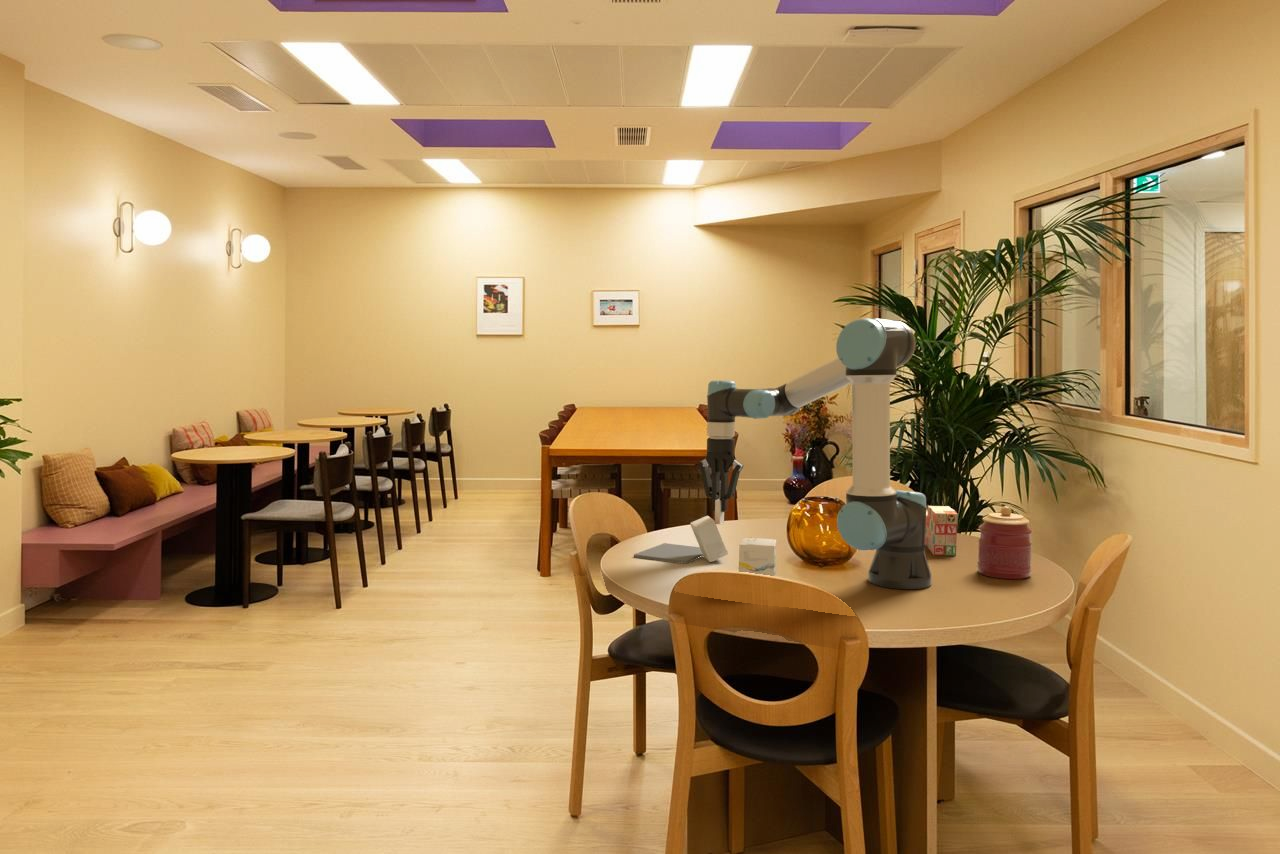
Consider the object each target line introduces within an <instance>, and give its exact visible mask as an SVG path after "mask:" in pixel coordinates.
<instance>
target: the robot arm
mask: <svg viewBox="0 0 1280 854" xmlns="http://www.w3.org/2000/svg"><path fill="white" fill-rule="evenodd" d="M835 347H836V355H837V357H836V358H834V359H832V360H830V361H829V362H826V363H824V364H822V365H820V366H818V367H816V368H814V369H812V370H810V371H808V372H806V373H804V374H802V375H799V376H798V377H797V378H794V379H792V380H790V381H788V382H787V383H784V384H782V385H780V386H778V387H775V388H772V387H771V388H769V387H768V388H737V387H736V382H735V381H734V380H711V381H709V382H708V386H707V395H706V400H707V402H706V403H707V425H706V436H707V437H708V438H707V439H706V455H705V457H704V459H702V460H701V461H698V462H697V466H698V467H699V469H700V472H701V478H702V481H703V482H702V483H703V488H704V491H705V497H708V498H711V500H712V505H711V506H712V507H711V509H712V511H713V512H714V521H715V523H716V525H721V524H724V523H725V512H727V511H728V500H729V499H731V498H734V497H735V493H736V489H737V485H738V482H739V478H740V477H739V476H740V474H741V471H742V470H743V468H744V466H745V465H744V464H743V463H740V462H738V461H737V460H736V459H737V458H736V455H735V448H736V447H735V446H736V445H735V438H733V437H735V436H736V433H735V431H736V418H737V417H738V418H739V417H740V418H751V419H755V420H757V419H768V418H769V417H787V416H790V415H794V414H796V413H798V412H799V410H800V409H801V408H802V407H804V406H806V405H808V404H810V403H812V402H815V401H817V400H819V399H821V398H824V397H825V396H828V395H830V394H832V393H834V392H836V391H838V390H841V389H843V388H846V387H847V386H849V385H852V386H851V387H852V388H851V389H852V391H851V392H852V393H851V394H852V395H851V396H852V397H851V399H852V401H851V405H852V406H851V407H852V409H851V410H852V412H851V414H852V415H851V417H852V418H851V419H852V425H851V426H852V430H851V431H852V432H851V433H852V436H851V437H852V484H851V486H850V487H849V488H848V489H847V490H846V493H845V504H844V505H843V506H841V509H839V511H838V513H837V518H836V527H837V529H838V532H839V535H840V536H841V538H842V539H843V540H844V541H845V542H846V545H848V546H850V547H851V548H853V549H855V550H857V551H875V553H874V556H873V558H872V561H871V564H870V567H869V570H868V577H867V580H868V582H869V583H871V584H872V585H875V586H878V587H882V588H883V587H884V588H887V589H888V588H889V589H896V590H897V589H898V590H899V589H900V590H920V589H926V588H929V587H931V585H932V580H933V579H932V578H933V577H932V576H933V575H932V572H931V570H930V565H929V562H928V559H927V555H926V545H925V533H926V511H928V505H927V497H926V495H925V494H924V493H922V492H918V491H911V490H910V491H908V490H901V489H894V488H893V487H892V486H891V484H890V483H891V439H890V438H891V432H890V431H891V415H890V414H891V413H890V412H891V410H890V409H891V408H890V407H891V403H890V401H891V393H890V392H891V383H892V381H894V379H895V378H896V377H897V376H898V375H897V369H898V368H900V367H902V366H904V365H905V364H907V363H908V362H909V361H910V360H911V358H912V357H913V355H914V353H915V350H916V337H915V334H914V332H913V330H912V329H911V328H910V327H909V325H907V324H906V323H904V322H902V321H900V320H898V319H887V318H886V319H884V318H877V317H876V318H874V317H873V318H872V317H866V318H858V319H855V320H852V321H850V322H849V323H847V324H846V325H845V326H844V327H843V328H842V329H841V331H840V333H839V334H838V337H837V339H836V344H835ZM709 468H710V469H709ZM731 468H732V472H731V474H730V469H731ZM710 471H711V473H710ZM710 474H711V475H710ZM729 475H730V479H729ZM729 480H730V481H729Z"/></svg>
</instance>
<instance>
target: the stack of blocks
mask: <svg viewBox="0 0 1280 854" xmlns="http://www.w3.org/2000/svg"><path fill="white" fill-rule="evenodd" d="M958 519H959V514H958V513H957V511H956V510H955V509H953V508H951V506H949V505H945V506H944V505H943V506H942V505H927V510H926V533H925V547H927V548H928V549H929V552H931V553H932V554H933V556H952V557H953V556H954V557H955V556H957V547H958V546H957V541H958V540H957V538H958V537H957V535H958V521H959V520H958Z"/></svg>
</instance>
